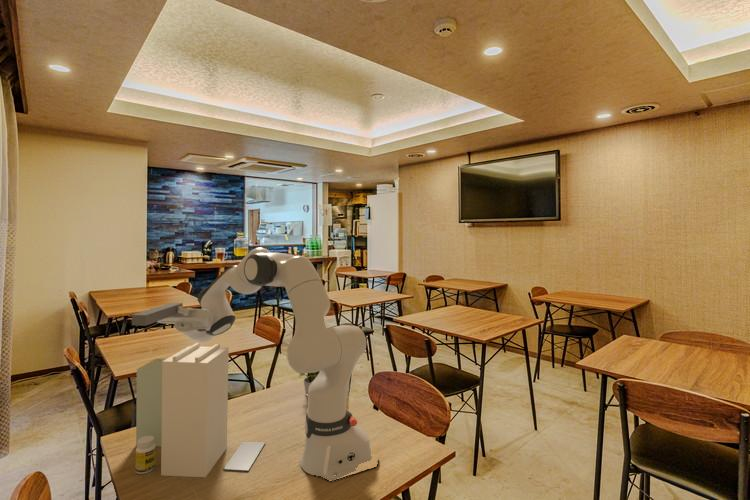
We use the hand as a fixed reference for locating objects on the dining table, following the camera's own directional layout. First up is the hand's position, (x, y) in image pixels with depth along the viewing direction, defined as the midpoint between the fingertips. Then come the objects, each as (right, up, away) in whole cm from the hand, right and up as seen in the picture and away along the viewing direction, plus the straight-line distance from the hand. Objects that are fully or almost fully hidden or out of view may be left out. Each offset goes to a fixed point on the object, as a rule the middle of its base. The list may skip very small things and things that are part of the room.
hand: (169, 308), depth 125 cm
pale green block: (-1, -40, -4) cm, 41 cm away
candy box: (+53, -42, +16) cm, 69 cm away
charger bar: (0, -2, -6) cm, 6 cm away
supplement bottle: (+4, -41, -20) cm, 46 cm away
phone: (+29, -42, -13) cm, 53 cm away
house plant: (+41, -41, +30) cm, 65 cm away
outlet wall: (+16, -41, -16) cm, 47 cm away
